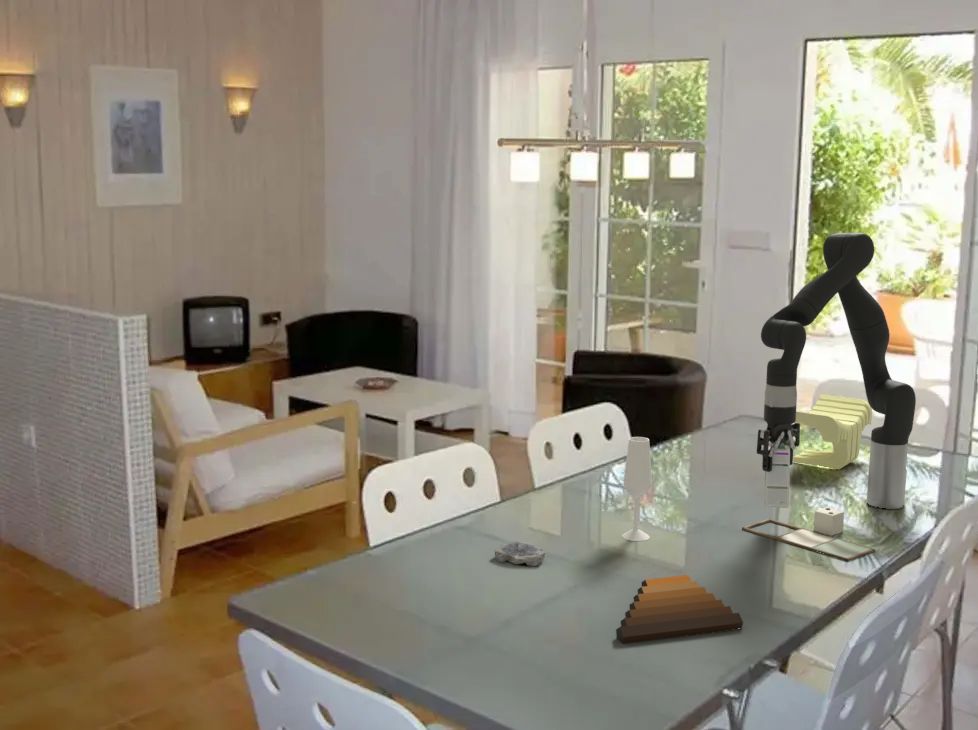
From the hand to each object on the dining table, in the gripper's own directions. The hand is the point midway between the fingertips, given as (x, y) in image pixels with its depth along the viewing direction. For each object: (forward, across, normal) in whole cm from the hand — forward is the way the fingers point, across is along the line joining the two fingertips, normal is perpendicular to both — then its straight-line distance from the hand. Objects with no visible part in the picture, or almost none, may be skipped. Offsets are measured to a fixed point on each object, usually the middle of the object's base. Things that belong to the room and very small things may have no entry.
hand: (777, 467), depth 281 cm
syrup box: (+9, 0, 0) cm, 9 cm away
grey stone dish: (+15, +62, -24) cm, 69 cm away
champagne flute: (+15, +30, -18) cm, 39 cm away
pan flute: (+16, +63, +16) cm, 67 cm away
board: (+16, 0, +9) cm, 18 cm away
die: (+16, -10, +9) cm, 21 cm away
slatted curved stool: (+17, -66, -28) cm, 73 cm away
